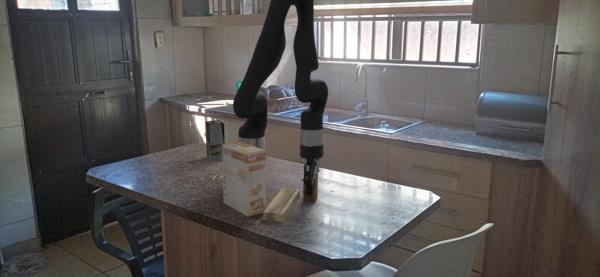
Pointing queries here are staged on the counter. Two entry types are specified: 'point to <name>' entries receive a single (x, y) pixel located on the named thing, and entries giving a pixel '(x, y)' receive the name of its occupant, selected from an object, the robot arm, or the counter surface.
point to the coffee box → (214, 139)
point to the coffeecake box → (244, 178)
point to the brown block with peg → (315, 191)
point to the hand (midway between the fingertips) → (311, 190)
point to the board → (281, 205)
